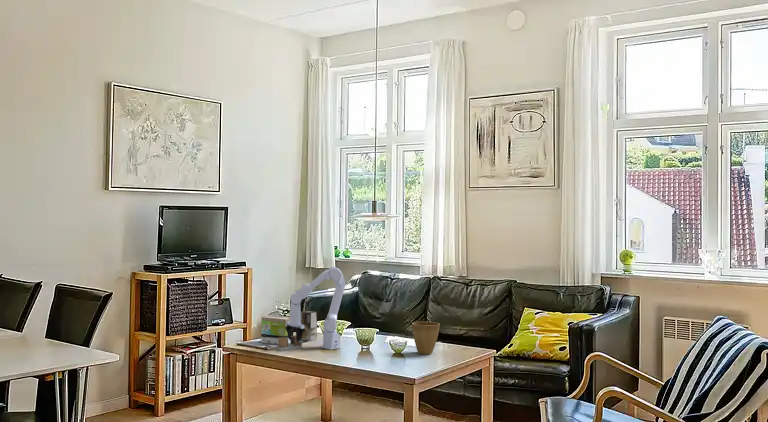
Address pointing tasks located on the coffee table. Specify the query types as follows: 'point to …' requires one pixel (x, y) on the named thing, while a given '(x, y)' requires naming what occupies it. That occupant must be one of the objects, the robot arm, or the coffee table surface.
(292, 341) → the block
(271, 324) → the tea box
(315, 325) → the coffee box
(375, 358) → the coffee table surface
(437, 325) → the plant pot
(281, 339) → the rail
